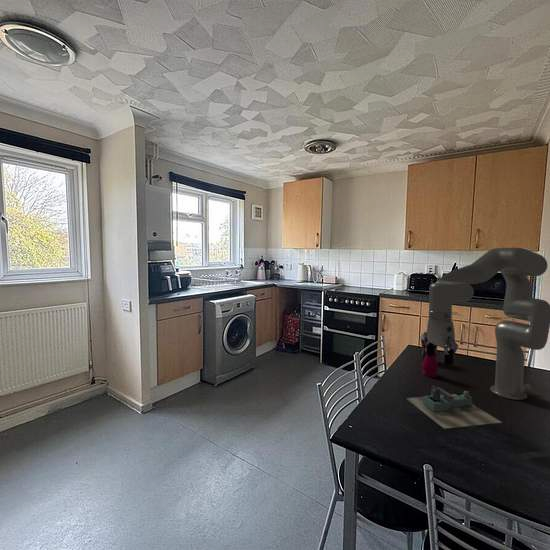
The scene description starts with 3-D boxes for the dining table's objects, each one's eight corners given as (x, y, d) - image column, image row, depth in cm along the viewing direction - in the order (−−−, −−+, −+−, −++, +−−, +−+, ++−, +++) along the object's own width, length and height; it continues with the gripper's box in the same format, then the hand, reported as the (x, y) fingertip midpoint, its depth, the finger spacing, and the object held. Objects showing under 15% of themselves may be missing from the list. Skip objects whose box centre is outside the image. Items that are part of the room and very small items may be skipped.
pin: (441, 408, 116) (441, 391, 116) (435, 409, 116) (435, 391, 116) (436, 405, 119) (437, 388, 119) (430, 406, 119) (431, 388, 118)
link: (464, 400, 123) (464, 388, 123) (477, 408, 117) (477, 395, 116) (423, 403, 120) (423, 391, 120) (433, 411, 114) (434, 398, 114)
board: (455, 396, 129) (456, 381, 128) (502, 425, 107) (503, 407, 107) (405, 401, 125) (406, 385, 125) (444, 431, 103) (444, 412, 103)
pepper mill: (439, 378, 148) (441, 338, 147) (423, 377, 150) (425, 337, 148) (435, 372, 155) (436, 334, 154) (420, 371, 157) (421, 333, 155)
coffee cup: (422, 364, 167) (423, 337, 166) (417, 358, 177) (418, 332, 176) (441, 365, 166) (442, 338, 165) (434, 359, 175) (435, 333, 174)
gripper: (466, 320, 107) (465, 367, 108) (433, 310, 124) (432, 352, 125) (447, 321, 106) (446, 369, 107) (416, 311, 123) (416, 353, 124)
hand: (439, 359), depth 116 cm, fingers open, 9 cm apart
